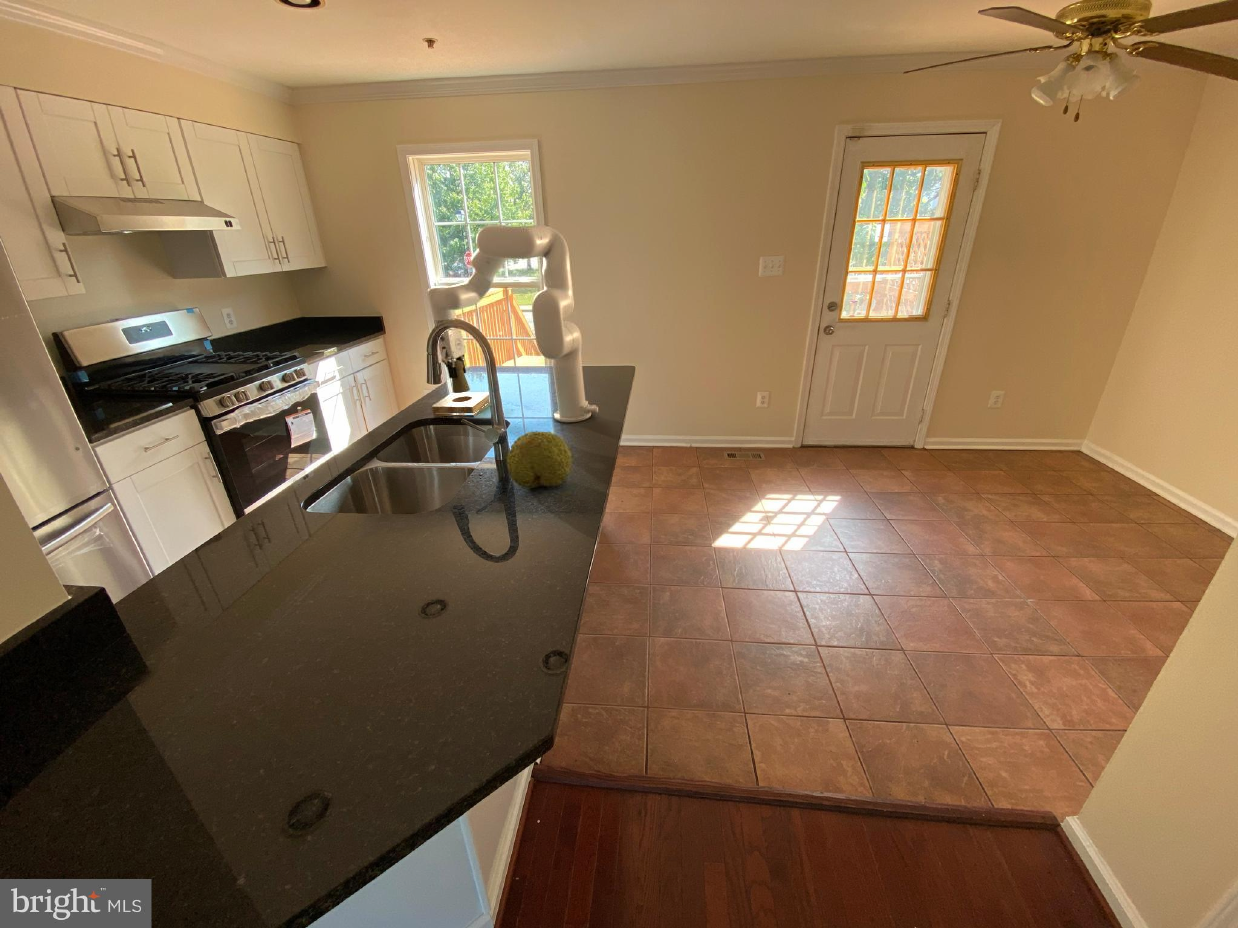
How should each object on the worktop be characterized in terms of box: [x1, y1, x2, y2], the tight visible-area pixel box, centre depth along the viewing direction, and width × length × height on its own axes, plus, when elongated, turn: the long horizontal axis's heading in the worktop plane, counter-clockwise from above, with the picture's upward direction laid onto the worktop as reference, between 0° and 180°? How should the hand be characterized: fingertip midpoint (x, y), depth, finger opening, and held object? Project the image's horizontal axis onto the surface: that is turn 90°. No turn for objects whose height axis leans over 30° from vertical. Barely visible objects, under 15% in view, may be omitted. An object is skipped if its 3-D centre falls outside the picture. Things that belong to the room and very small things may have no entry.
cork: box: [451, 359, 471, 393], centre depth 180 cm, size 6×6×11 cm
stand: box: [431, 391, 491, 418], centre depth 184 cm, size 16×16×4 cm
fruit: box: [505, 430, 573, 489], centre depth 125 cm, size 16×14×15 cm
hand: (458, 375), depth 179 cm, fingers closed on cork, 5 cm apart
